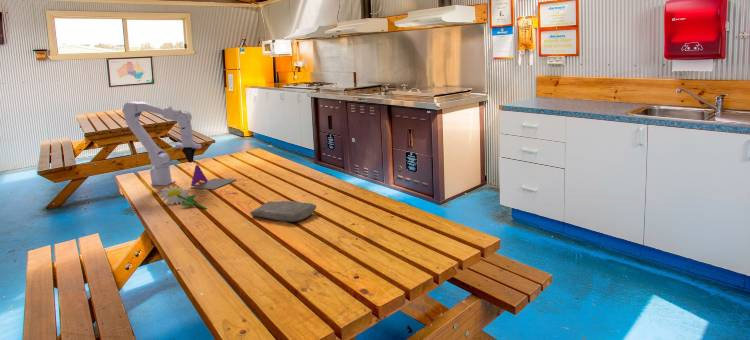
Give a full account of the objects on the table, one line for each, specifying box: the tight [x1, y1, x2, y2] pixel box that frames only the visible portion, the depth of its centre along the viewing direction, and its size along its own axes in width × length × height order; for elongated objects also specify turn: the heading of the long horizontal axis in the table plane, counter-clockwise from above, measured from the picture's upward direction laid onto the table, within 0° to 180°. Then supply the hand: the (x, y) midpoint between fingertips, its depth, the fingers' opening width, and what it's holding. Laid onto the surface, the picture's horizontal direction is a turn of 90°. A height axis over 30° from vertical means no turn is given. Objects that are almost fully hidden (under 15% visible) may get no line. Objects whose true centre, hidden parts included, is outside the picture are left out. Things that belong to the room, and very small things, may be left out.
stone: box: [249, 200, 317, 223], centre depth 204 cm, size 26×4×15 cm
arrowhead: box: [190, 164, 209, 187], centre depth 263 cm, size 10×2×10 cm
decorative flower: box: [158, 185, 208, 210], centre depth 228 cm, size 13×5×30 cm
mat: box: [190, 178, 238, 191], centre depth 260 cm, size 14×18×1 cm
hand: (190, 162), depth 266 cm, fingers closed
